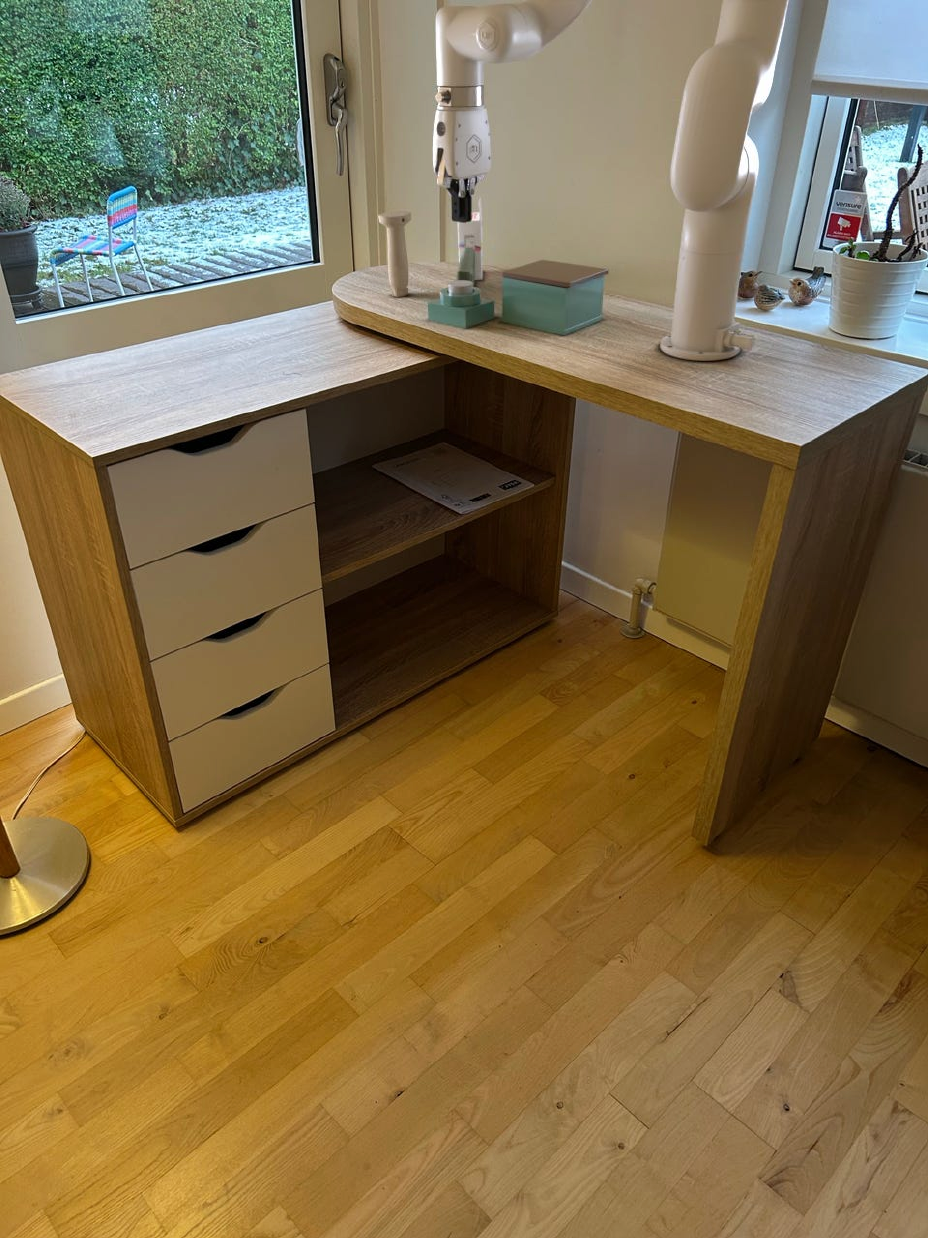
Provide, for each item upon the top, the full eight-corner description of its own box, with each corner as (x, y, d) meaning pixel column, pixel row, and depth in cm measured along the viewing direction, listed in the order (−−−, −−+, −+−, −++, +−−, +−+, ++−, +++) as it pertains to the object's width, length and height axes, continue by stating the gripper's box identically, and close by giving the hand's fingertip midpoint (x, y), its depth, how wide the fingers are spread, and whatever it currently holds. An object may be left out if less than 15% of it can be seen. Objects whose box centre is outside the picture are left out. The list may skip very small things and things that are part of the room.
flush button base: (494, 318, 166) (494, 289, 163) (465, 328, 161) (465, 299, 158) (457, 310, 171) (456, 282, 168) (428, 320, 166) (427, 291, 163)
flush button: (478, 292, 163) (477, 282, 162) (462, 297, 160) (461, 287, 160) (459, 288, 166) (459, 278, 165) (443, 293, 163) (443, 283, 162)
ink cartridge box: (460, 270, 196) (458, 196, 187) (483, 270, 195) (482, 195, 187) (458, 280, 189) (456, 203, 180) (482, 280, 188) (481, 203, 180)
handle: (419, 294, 181) (415, 212, 173) (395, 300, 177) (390, 217, 169) (404, 290, 184) (399, 209, 176) (379, 296, 180) (373, 214, 172)
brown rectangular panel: (608, 273, 158) (608, 269, 158) (569, 287, 151) (569, 282, 151) (542, 263, 166) (542, 259, 166) (502, 276, 159) (502, 271, 159)
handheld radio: (454, 307, 172) (462, 274, 193) (471, 307, 172) (477, 275, 193) (454, 270, 169) (462, 241, 189) (472, 271, 169) (478, 241, 189)
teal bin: (601, 319, 163) (604, 274, 159) (564, 335, 156) (565, 288, 152) (540, 307, 171) (541, 264, 166) (502, 322, 163) (502, 276, 159)
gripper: (446, 103, 139) (449, 231, 150) (507, 96, 149) (505, 216, 159) (411, 100, 143) (415, 225, 154) (472, 93, 153) (473, 211, 163)
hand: (461, 220), depth 156 cm, fingers closed
